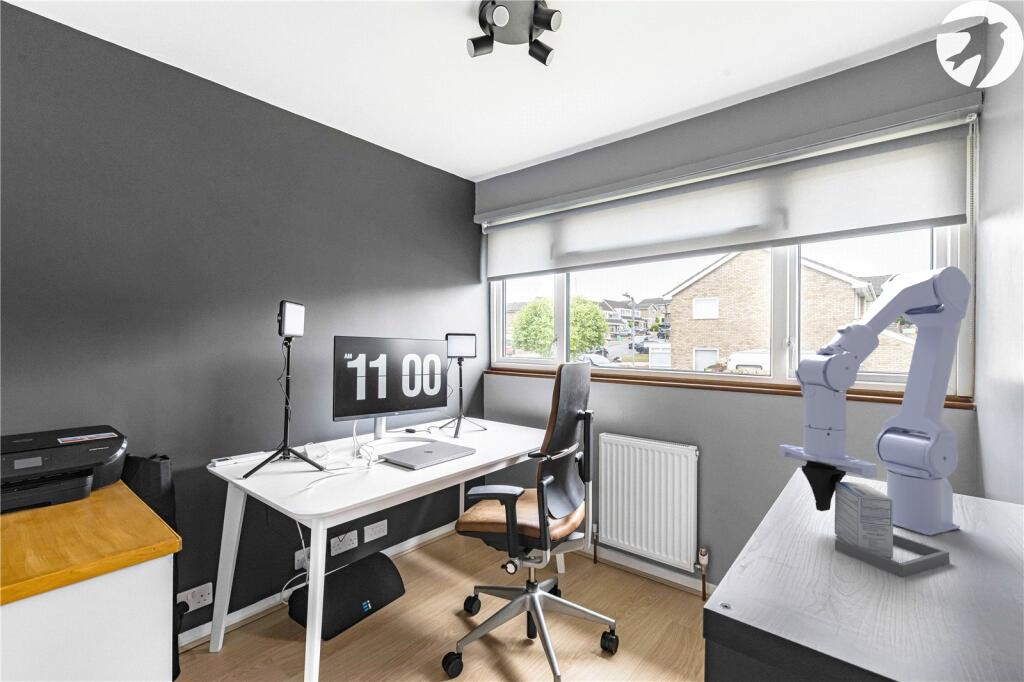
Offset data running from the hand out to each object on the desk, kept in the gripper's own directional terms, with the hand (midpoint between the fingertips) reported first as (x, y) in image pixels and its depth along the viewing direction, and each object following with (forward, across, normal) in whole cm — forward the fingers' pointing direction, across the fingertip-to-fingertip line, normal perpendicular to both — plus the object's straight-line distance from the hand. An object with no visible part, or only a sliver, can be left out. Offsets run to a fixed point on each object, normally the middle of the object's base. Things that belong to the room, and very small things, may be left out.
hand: (823, 510), depth 75 cm
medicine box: (+4, +6, 0) cm, 7 cm away
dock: (+3, +9, 0) cm, 9 cm away
